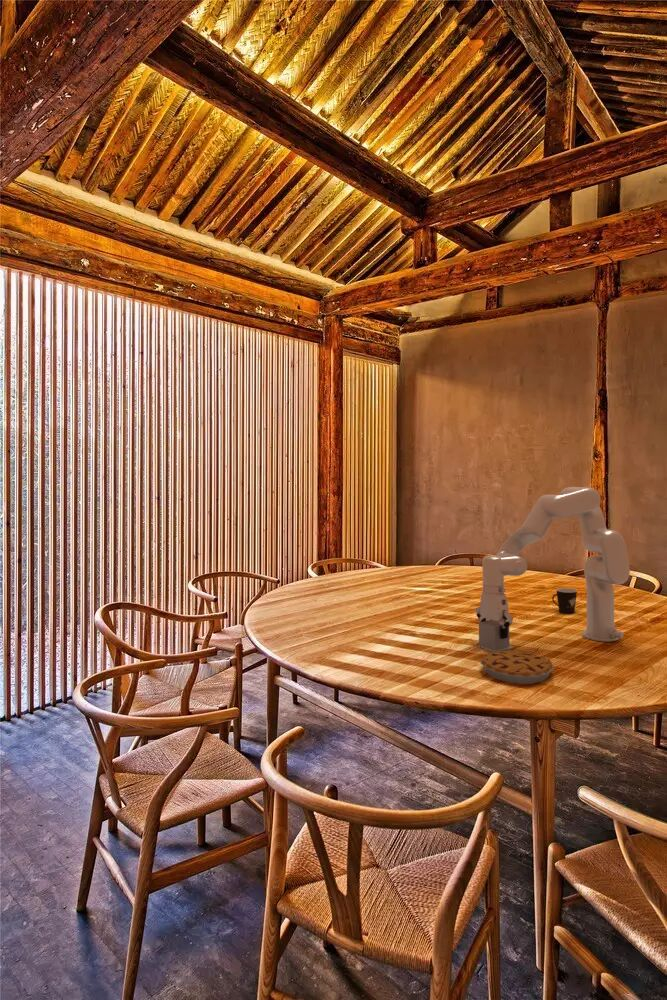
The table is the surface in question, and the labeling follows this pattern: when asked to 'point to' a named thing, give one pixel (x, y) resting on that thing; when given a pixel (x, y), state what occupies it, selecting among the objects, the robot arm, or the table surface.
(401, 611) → the table surface
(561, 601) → the coffee mug
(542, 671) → the pie
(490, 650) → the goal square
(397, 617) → the table surface
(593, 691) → the table surface
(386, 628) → the table surface
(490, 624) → the grey block
